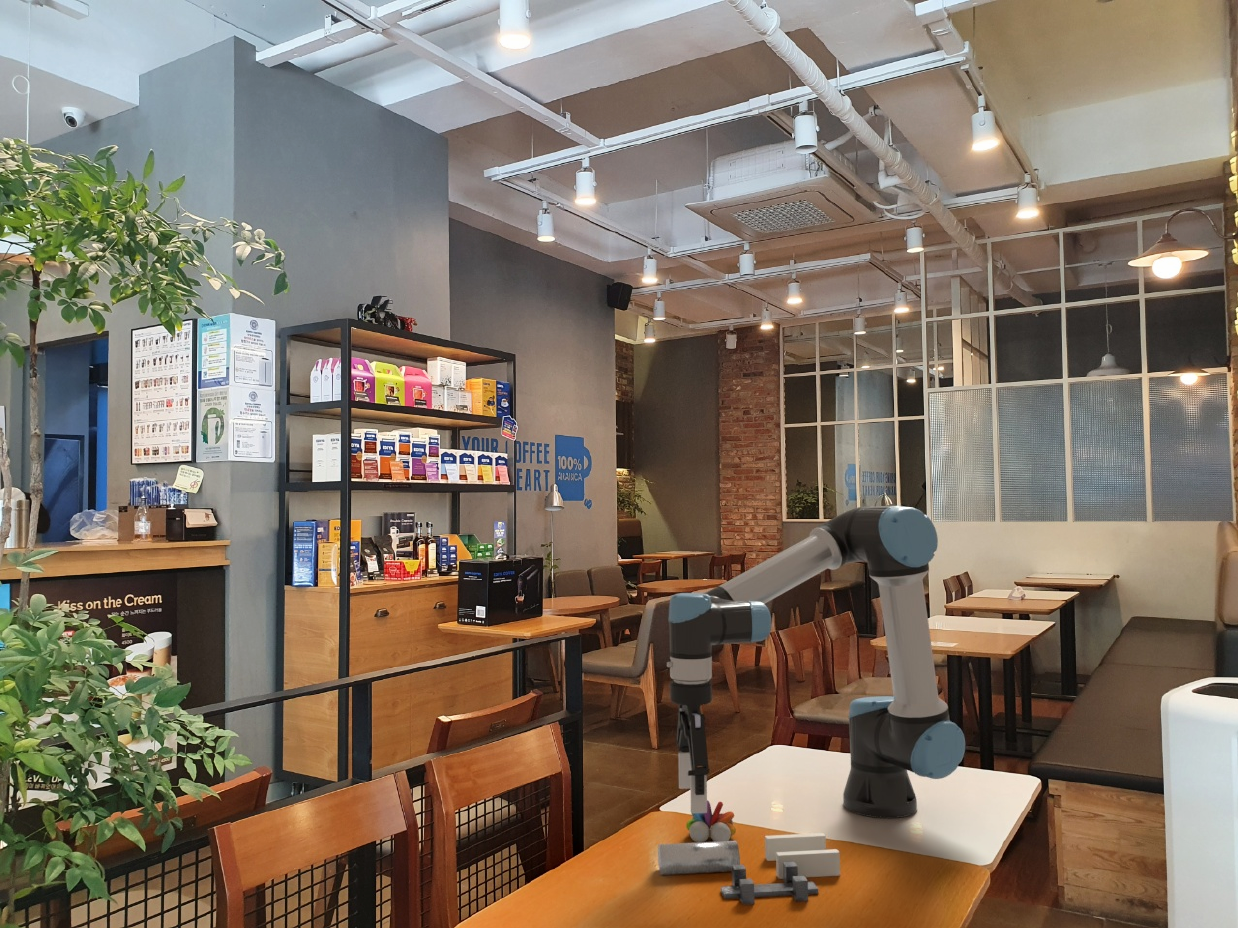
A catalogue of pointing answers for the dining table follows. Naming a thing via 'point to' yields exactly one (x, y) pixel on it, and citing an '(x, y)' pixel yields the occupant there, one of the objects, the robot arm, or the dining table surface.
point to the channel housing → (803, 854)
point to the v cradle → (768, 885)
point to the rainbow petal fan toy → (704, 821)
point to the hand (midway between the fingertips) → (692, 799)
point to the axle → (698, 857)
